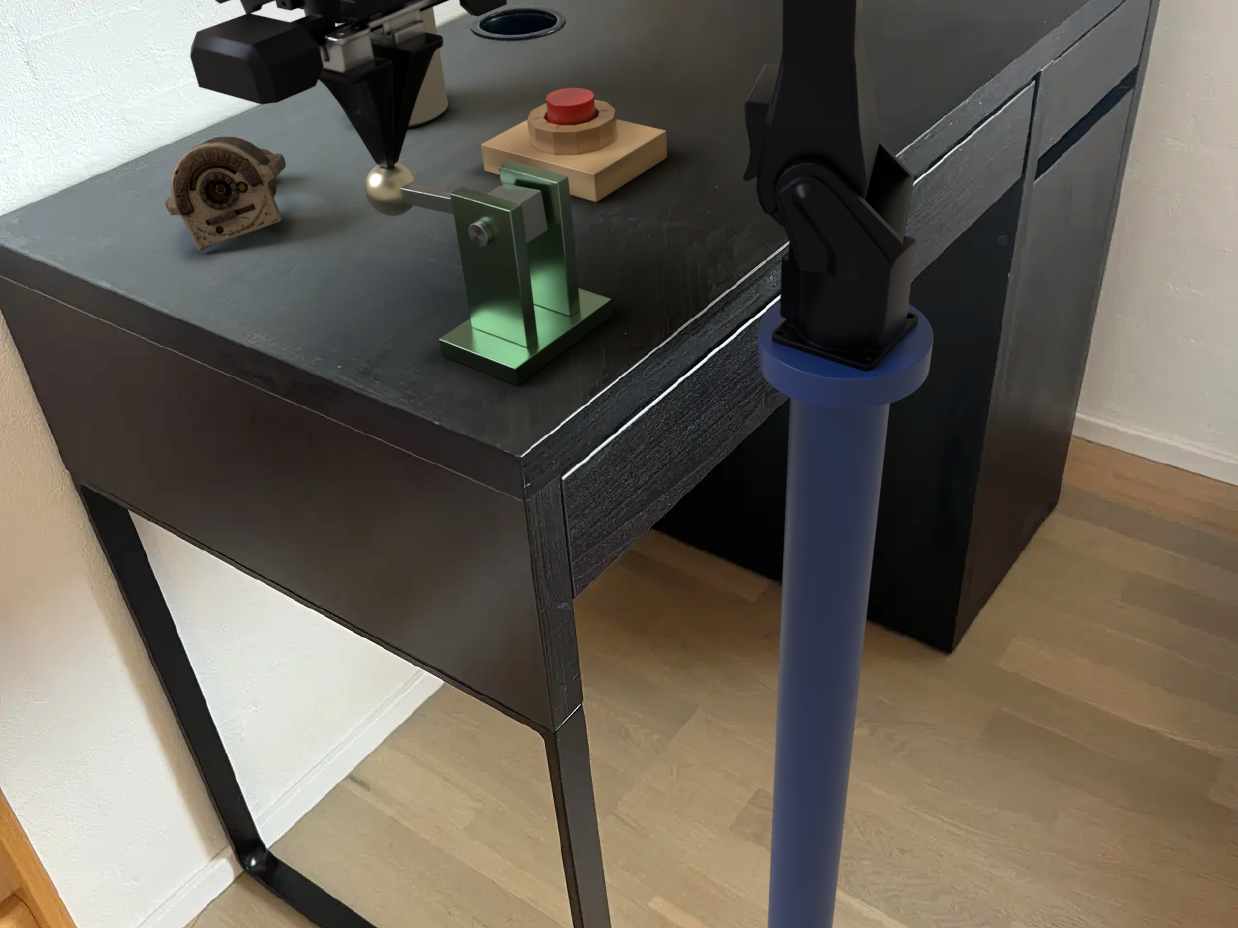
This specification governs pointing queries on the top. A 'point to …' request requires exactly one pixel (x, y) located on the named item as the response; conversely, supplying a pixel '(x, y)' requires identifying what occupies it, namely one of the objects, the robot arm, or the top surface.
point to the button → (570, 106)
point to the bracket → (519, 280)
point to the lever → (443, 197)
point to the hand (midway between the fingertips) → (387, 164)
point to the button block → (580, 150)
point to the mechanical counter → (225, 190)
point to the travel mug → (430, 82)
